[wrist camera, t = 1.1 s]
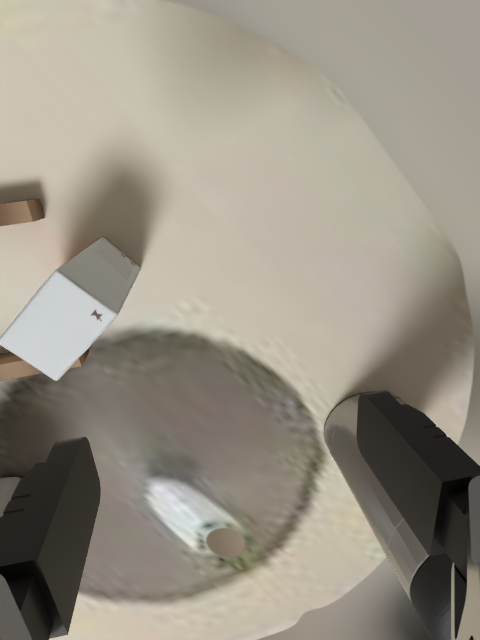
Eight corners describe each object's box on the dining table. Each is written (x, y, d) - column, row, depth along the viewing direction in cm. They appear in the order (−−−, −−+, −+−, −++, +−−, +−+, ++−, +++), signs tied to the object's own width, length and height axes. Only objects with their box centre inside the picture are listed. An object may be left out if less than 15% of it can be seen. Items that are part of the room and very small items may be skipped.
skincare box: (101, 234, 31) (57, 266, 20) (142, 268, 32) (121, 314, 21) (57, 286, 32) (-8, 343, 21) (99, 316, 33) (58, 385, 22)
